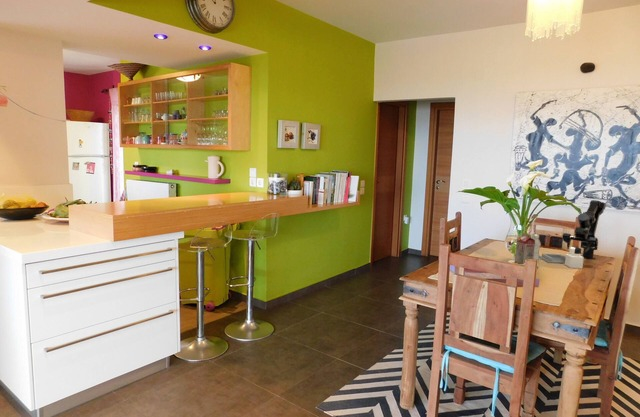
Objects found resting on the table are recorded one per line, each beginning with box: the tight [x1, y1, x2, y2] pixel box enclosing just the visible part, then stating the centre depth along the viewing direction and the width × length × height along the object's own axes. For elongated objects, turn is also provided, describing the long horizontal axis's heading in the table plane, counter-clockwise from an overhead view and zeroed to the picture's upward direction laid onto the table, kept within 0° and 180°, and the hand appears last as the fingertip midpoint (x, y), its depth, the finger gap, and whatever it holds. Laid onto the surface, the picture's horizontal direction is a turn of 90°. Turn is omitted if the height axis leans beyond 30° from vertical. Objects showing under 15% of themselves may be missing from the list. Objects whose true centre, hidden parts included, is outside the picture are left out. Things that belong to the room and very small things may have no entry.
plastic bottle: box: [531, 233, 542, 266], centre depth 254 cm, size 6×7×20 cm
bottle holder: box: [539, 253, 566, 265], centre depth 272 cm, size 14×16×3 cm
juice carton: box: [514, 232, 535, 264], centre depth 244 cm, size 7×7×22 cm
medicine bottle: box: [564, 246, 585, 269], centre depth 259 cm, size 7×7×12 cm
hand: (576, 250), depth 259 cm, fingers open, 9 cm apart
